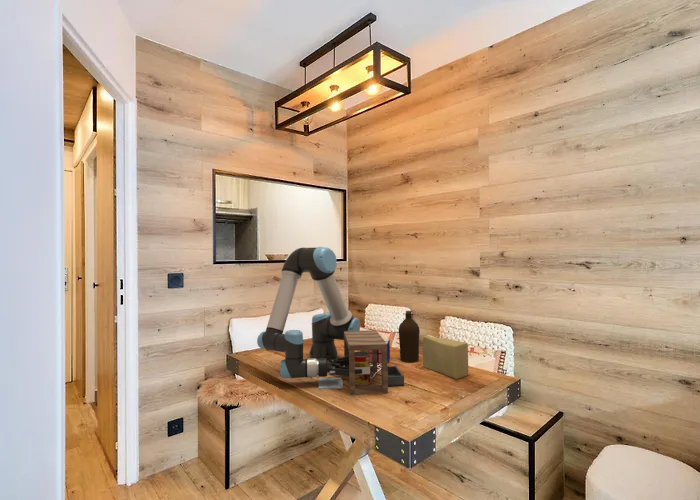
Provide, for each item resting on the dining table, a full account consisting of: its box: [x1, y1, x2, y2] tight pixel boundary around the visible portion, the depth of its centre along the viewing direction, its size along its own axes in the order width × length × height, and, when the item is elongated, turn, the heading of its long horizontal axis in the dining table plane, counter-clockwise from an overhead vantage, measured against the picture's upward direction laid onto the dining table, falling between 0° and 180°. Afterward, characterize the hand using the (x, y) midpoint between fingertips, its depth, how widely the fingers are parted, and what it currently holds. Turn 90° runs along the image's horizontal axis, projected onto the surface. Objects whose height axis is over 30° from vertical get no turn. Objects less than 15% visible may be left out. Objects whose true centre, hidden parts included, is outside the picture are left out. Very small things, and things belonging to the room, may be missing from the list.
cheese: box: [422, 335, 469, 380], centre depth 171 cm, size 22×10×15 cm, turn 39°
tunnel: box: [343, 329, 389, 396], centre depth 158 cm, size 27×15×19 cm, turn 5°
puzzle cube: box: [368, 338, 391, 364], centre depth 190 cm, size 10×10×10 cm
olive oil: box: [398, 310, 420, 363], centre depth 190 cm, size 11×11×25 cm
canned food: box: [354, 351, 371, 386], centre depth 158 cm, size 8×8×12 cm
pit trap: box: [380, 365, 405, 388], centre depth 160 cm, size 14×7×4 cm, turn 5°
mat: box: [318, 376, 344, 390], centre depth 157 cm, size 12×10×1 cm
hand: (367, 365), depth 159 cm, fingers open, 13 cm apart
